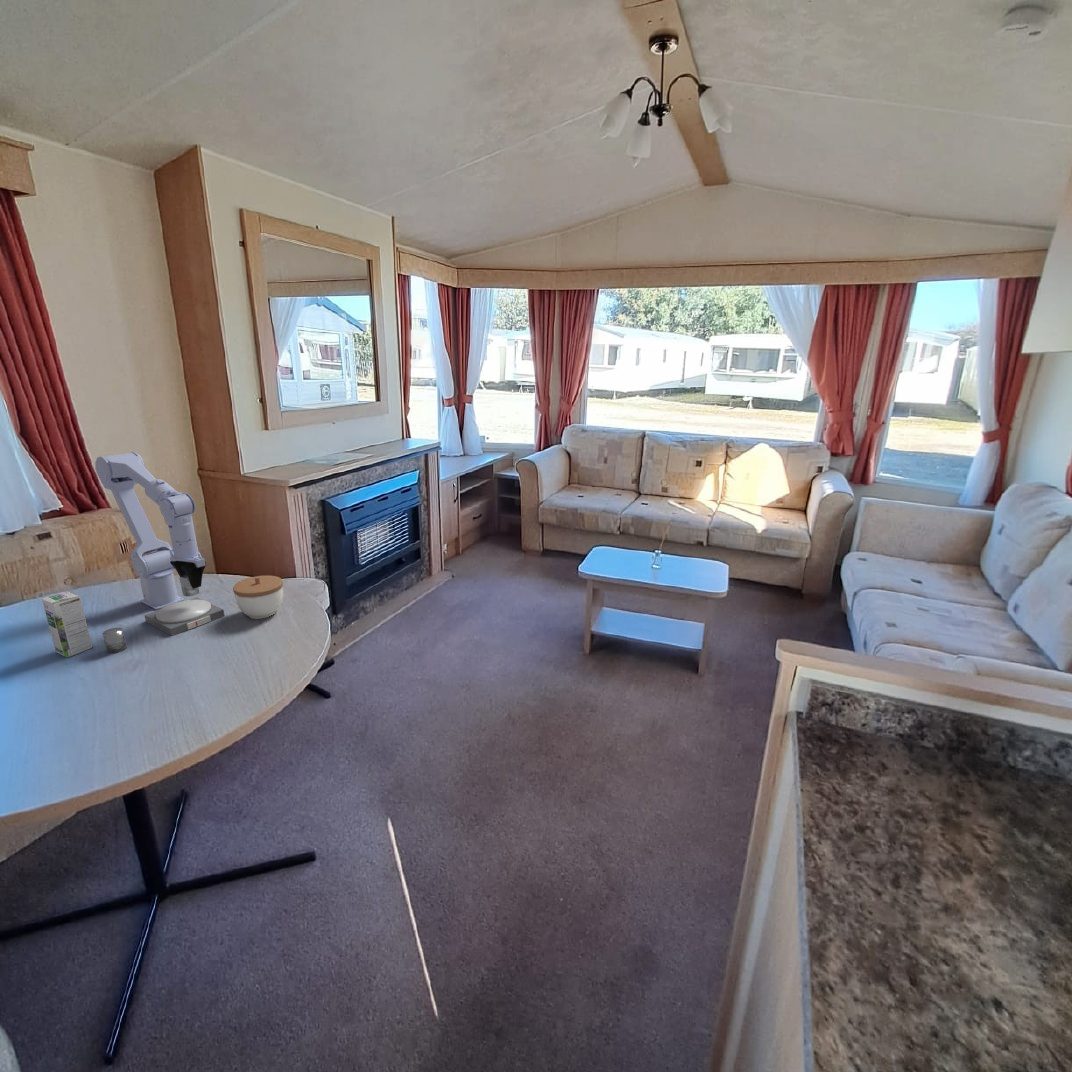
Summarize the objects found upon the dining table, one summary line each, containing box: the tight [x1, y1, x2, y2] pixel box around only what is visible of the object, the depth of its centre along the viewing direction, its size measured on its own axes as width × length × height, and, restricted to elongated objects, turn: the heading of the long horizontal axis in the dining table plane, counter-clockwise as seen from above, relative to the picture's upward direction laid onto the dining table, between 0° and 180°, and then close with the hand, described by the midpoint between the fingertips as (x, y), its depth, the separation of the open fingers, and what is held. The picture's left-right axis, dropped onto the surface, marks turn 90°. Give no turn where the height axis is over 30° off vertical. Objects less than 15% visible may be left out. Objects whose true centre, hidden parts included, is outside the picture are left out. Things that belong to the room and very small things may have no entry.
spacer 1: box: [102, 627, 128, 654], centre depth 140 cm, size 4×4×5 cm
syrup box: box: [41, 590, 93, 658], centre depth 138 cm, size 6×6×14 cm
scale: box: [143, 597, 225, 637], centre depth 156 cm, size 15×14×3 cm
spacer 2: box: [179, 575, 200, 597], centre depth 156 cm, size 4×4×5 cm
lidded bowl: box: [232, 575, 284, 620], centre depth 159 cm, size 13×13×11 cm
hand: (192, 585), depth 156 cm, fingers closed on spacer 2, 4 cm apart
